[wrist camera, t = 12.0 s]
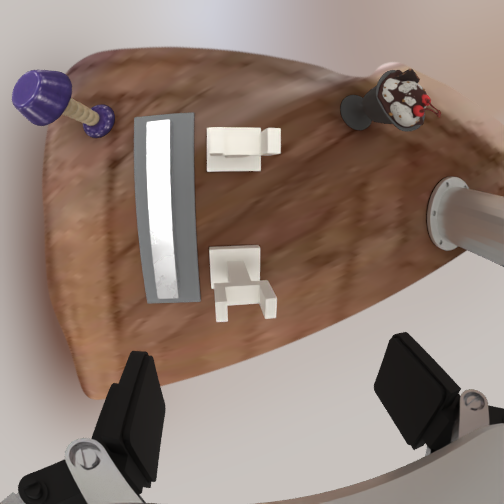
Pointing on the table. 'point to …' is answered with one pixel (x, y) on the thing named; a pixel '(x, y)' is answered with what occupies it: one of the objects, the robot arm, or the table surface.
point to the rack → (248, 256)
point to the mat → (182, 206)
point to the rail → (162, 207)
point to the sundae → (389, 103)
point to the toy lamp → (57, 102)
